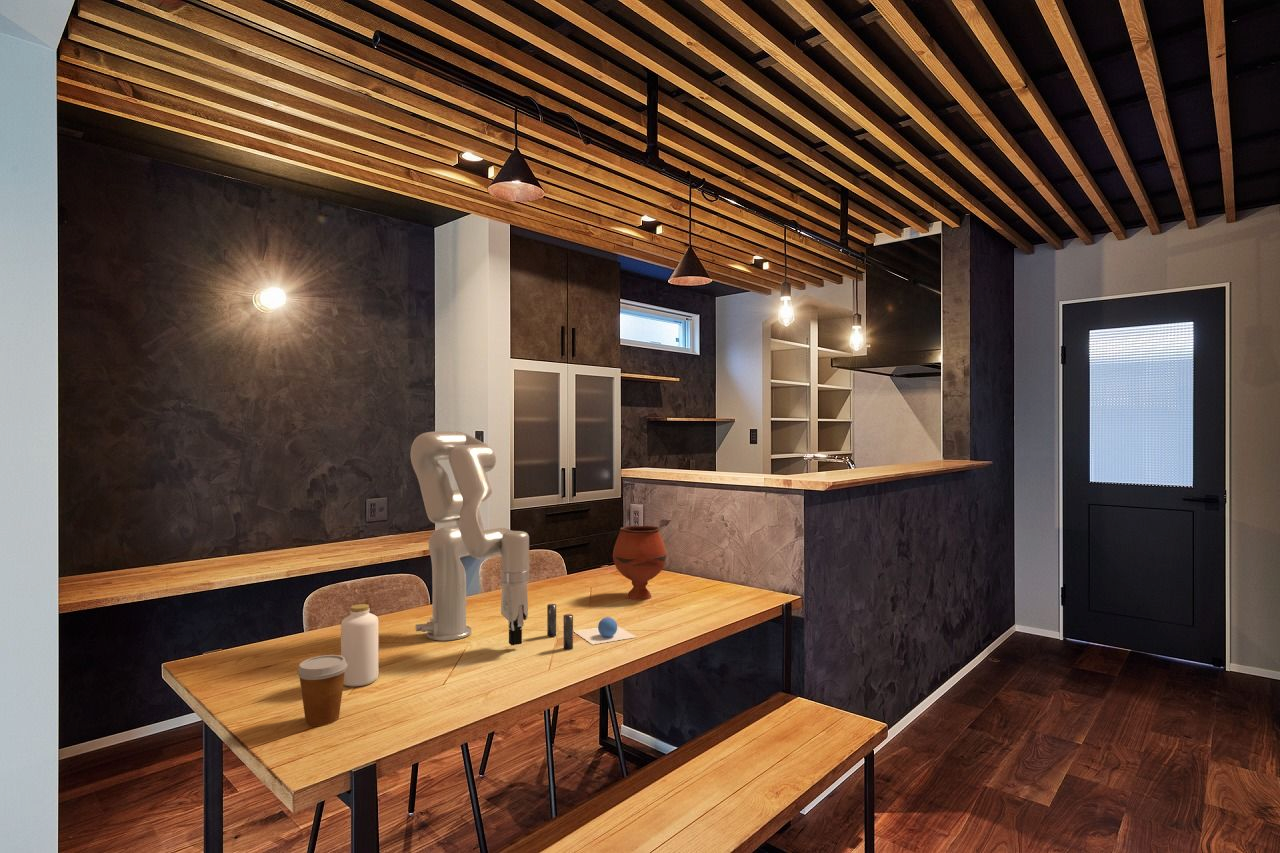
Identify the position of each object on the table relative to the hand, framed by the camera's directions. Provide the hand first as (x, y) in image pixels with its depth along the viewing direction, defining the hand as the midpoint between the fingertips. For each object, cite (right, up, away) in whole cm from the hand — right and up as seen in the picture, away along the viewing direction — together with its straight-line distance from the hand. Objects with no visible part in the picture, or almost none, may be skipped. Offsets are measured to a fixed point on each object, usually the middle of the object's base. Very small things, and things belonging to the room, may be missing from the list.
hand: (515, 643), depth 183 cm
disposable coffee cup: (-32, -2, -44) cm, 55 cm away
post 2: (+14, -2, +1) cm, 15 cm away
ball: (+25, +1, +11) cm, 27 cm away
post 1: (+8, -2, +12) cm, 15 cm away
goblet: (+34, -2, +57) cm, 66 cm away
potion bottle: (-33, -2, -23) cm, 40 cm away
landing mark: (+24, -2, +13) cm, 27 cm away
